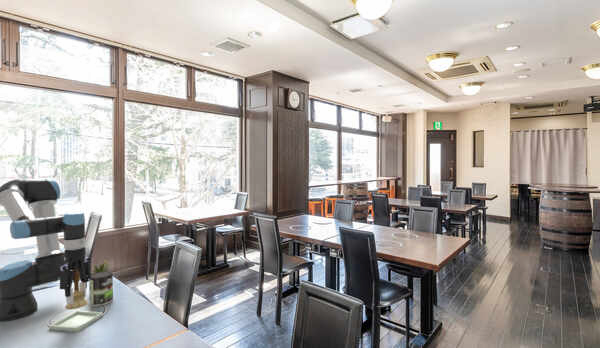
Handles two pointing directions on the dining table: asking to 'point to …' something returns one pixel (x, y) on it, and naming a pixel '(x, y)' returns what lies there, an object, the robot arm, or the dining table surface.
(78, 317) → the tray
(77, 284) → the hand bell
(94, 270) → the house plant
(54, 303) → the dining table surface
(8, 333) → the dining table surface
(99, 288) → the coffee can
